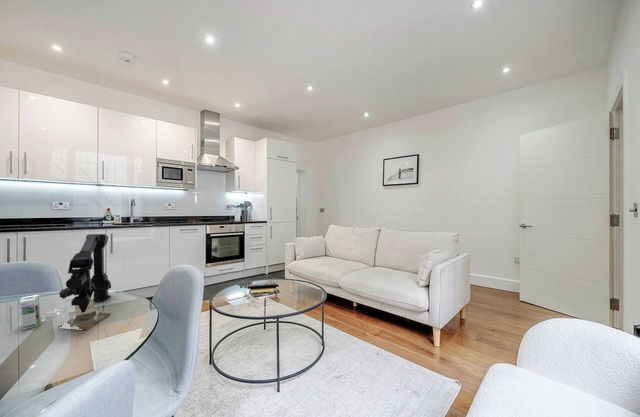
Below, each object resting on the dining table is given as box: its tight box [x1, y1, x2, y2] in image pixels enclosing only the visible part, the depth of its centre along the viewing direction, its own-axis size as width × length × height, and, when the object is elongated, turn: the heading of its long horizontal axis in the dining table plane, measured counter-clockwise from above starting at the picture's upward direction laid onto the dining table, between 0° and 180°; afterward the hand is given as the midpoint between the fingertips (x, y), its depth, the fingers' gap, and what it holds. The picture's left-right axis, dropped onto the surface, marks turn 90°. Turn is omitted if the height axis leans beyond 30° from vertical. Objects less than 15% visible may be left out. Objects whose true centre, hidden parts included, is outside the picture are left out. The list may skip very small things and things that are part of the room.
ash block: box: [74, 297, 95, 315], centre depth 131 cm, size 6×6×5 cm
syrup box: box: [19, 293, 42, 331], centre depth 125 cm, size 6×6×14 cm
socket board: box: [57, 309, 111, 332], centre depth 132 cm, size 14×14×2 cm
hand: (84, 309), depth 131 cm, fingers closed on ash block, 6 cm apart
